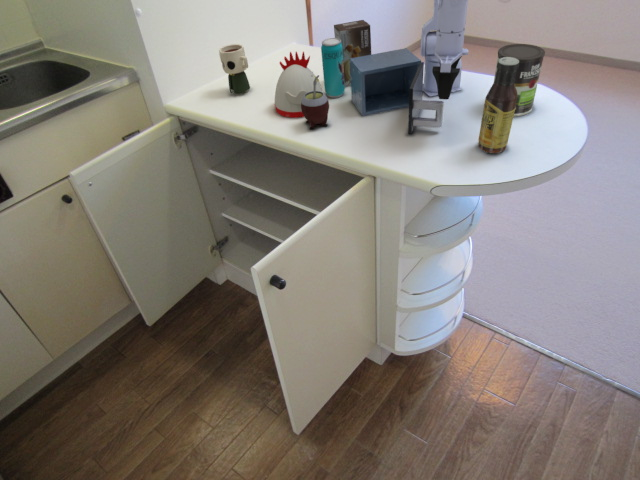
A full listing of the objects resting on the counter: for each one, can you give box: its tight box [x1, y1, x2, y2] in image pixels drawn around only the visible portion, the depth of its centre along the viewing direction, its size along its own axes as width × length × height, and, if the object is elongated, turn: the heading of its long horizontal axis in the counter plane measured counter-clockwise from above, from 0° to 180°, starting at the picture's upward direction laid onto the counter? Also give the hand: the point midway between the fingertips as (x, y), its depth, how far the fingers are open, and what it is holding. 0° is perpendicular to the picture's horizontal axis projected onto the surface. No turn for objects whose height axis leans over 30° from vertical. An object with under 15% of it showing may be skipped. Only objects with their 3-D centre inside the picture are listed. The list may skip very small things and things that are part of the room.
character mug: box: [218, 43, 251, 95], centre depth 137 cm, size 11×7×13 cm, turn 53°
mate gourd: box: [301, 74, 330, 131], centre depth 116 cm, size 8×8×15 cm
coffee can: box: [493, 43, 546, 117], centre depth 113 cm, size 10×10×14 cm
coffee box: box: [333, 19, 372, 88], centre depth 134 cm, size 9×6×16 cm
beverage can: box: [320, 37, 346, 99], centre depth 129 cm, size 6×6×15 cm
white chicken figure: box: [274, 51, 324, 119], centre depth 125 cm, size 14×14×15 cm
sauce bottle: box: [478, 57, 519, 154], centre depth 98 cm, size 6×6×20 cm
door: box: [407, 61, 445, 135], centre depth 113 cm, size 8×16×12 cm, turn 162°
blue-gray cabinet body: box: [350, 47, 422, 117], centre depth 123 cm, size 10×16×12 cm, turn 103°
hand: (445, 91), depth 106 cm, fingers open, 7 cm apart
